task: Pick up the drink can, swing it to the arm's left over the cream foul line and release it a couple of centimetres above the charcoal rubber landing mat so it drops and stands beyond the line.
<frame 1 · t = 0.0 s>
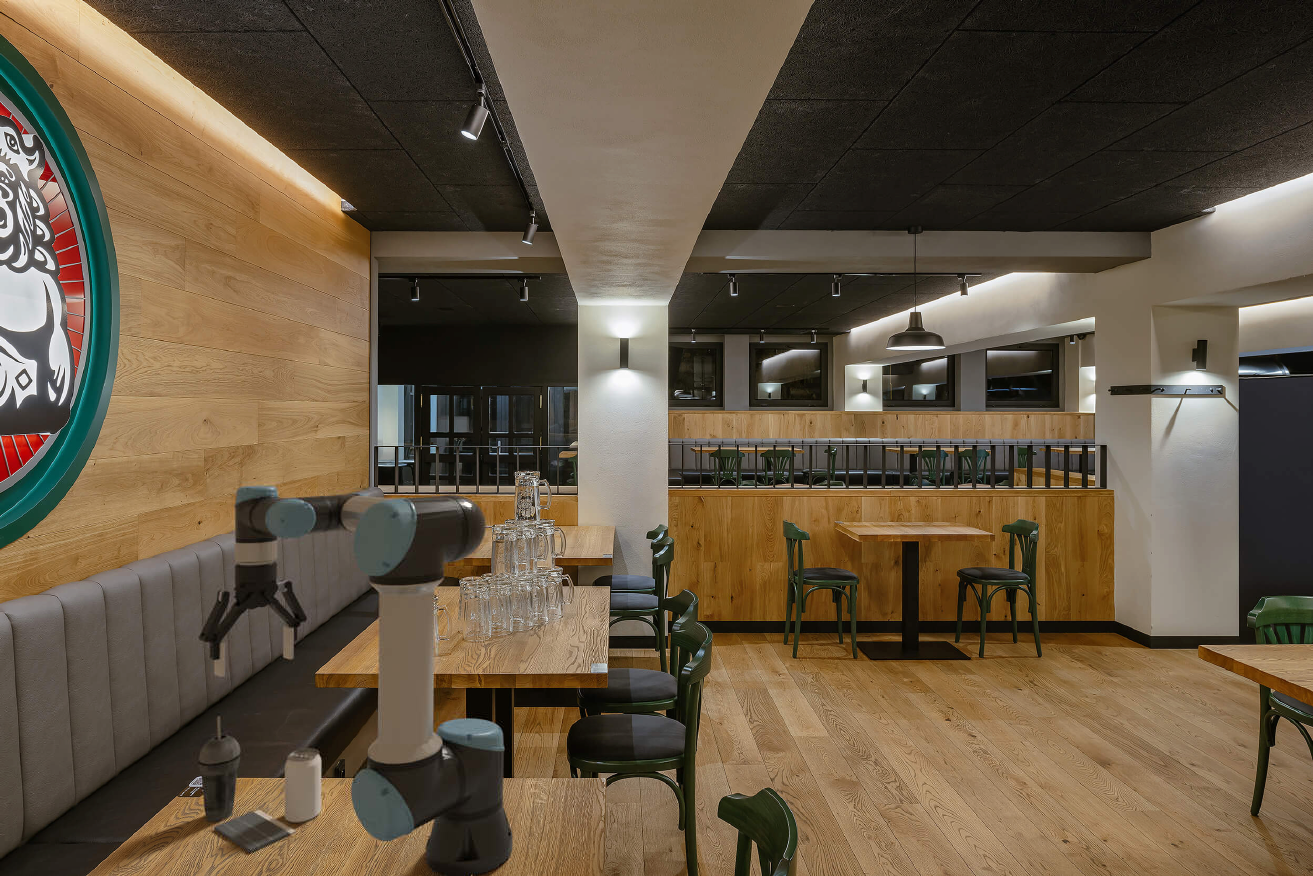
hand: (255, 666, 146), 28 cm above the table, fingers open, 13 cm apart
can: (302, 816, 142), on the table
dark grey flat slab: (256, 830, 136), on the table
beverage cup: (219, 817, 141), on the table
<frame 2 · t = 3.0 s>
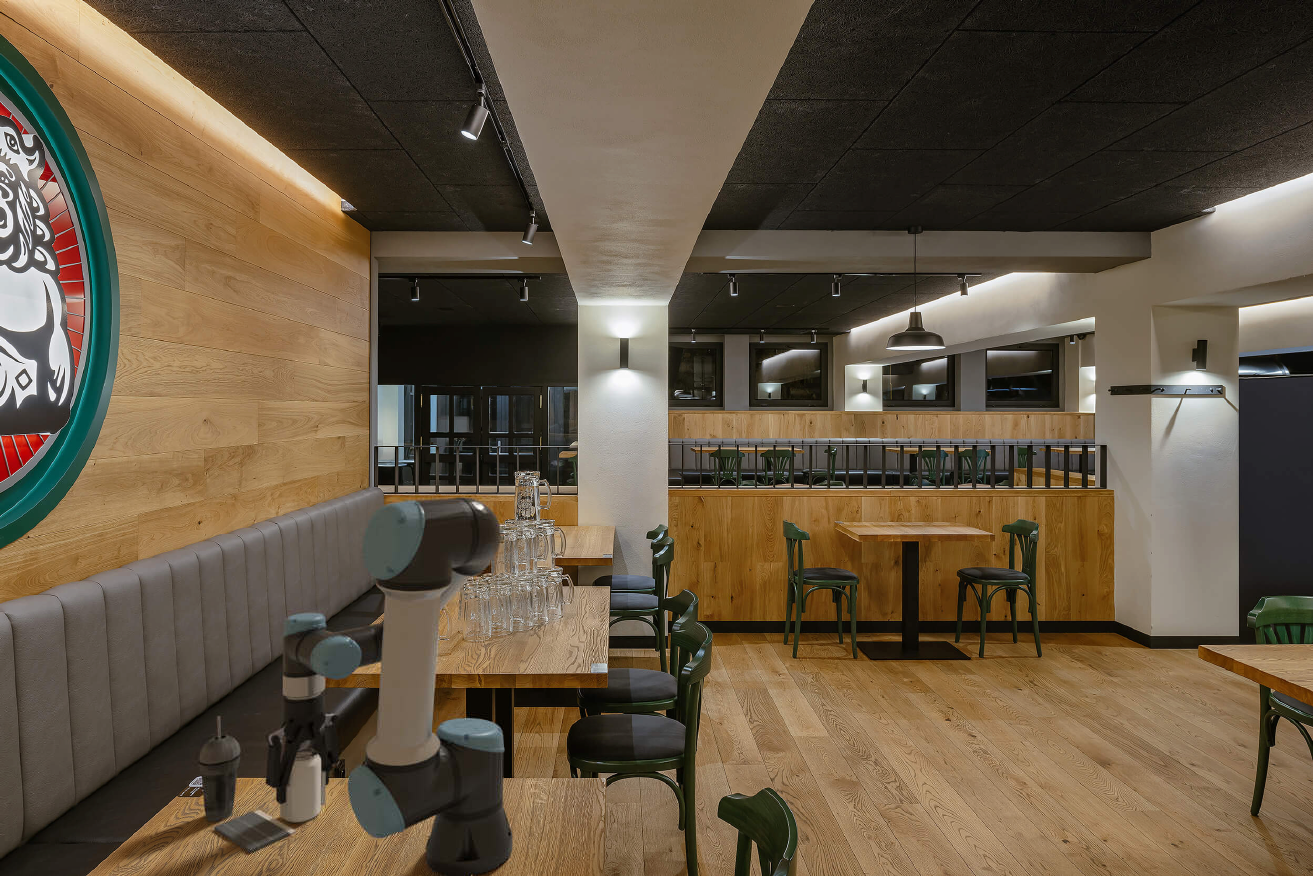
hand: (303, 810, 142), 1 cm above the table, fingers closed on can, 6 cm apart
can: (302, 816, 142), on the table, touching gripper
everything else where it was.
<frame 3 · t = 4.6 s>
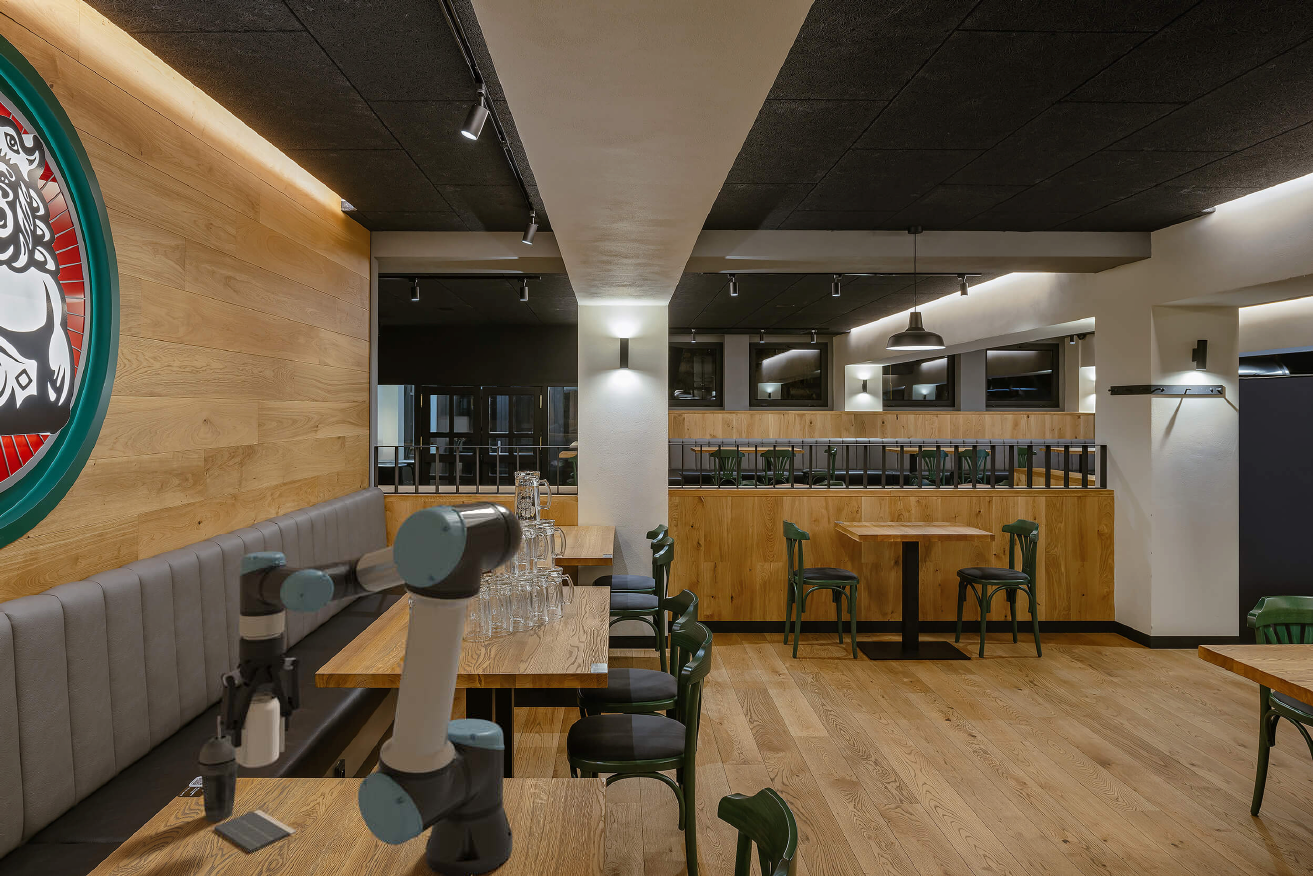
hand: (260, 756, 136), 14 cm above the table, fingers closed on can, 6 cm apart
can: (259, 762, 136), point 13 cm above the table, touching gripper
everything else where it was.
when the fingers open (4 cm above the table, at t = 6.1 s): can drops 2 cm, resting on dark grey flat slab.
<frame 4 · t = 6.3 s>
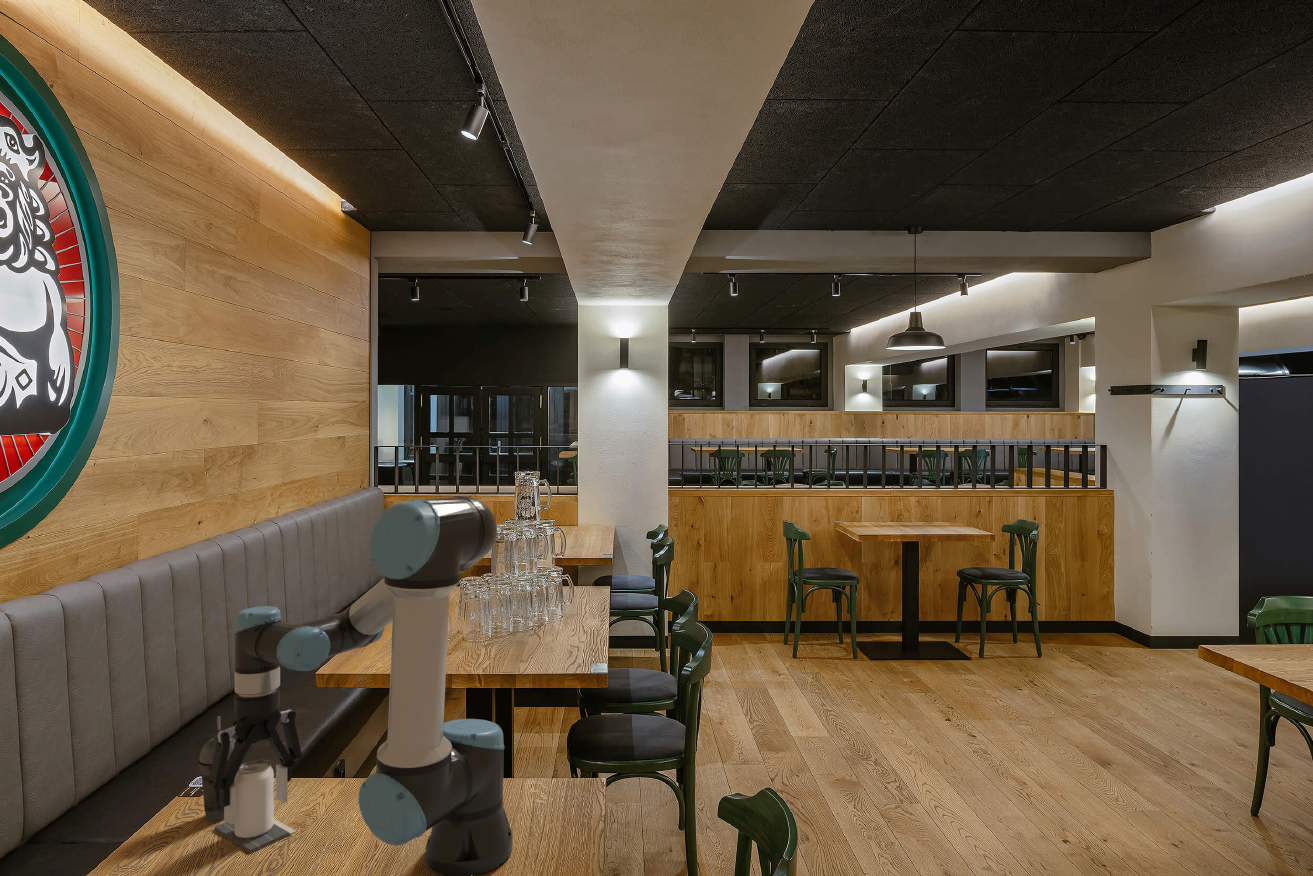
hand: (256, 810, 135), 4 cm above the table, fingers open, 9 cm apart
can: (254, 831, 135), resting on dark grey flat slab
everything else where it was.
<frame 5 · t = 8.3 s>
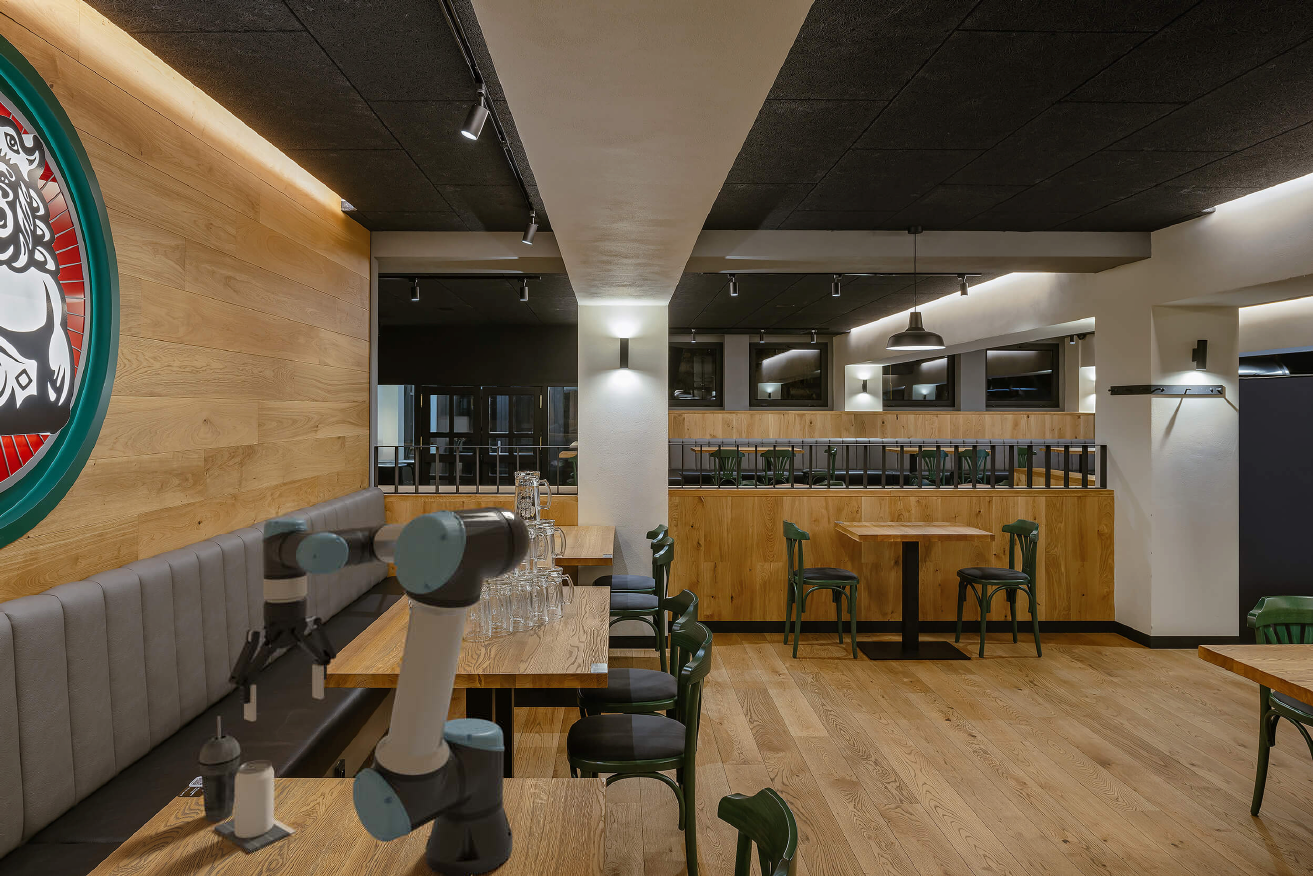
hand: (285, 708, 139), 22 cm above the table, fingers open, 13 cm apart
nothing on the table moved.
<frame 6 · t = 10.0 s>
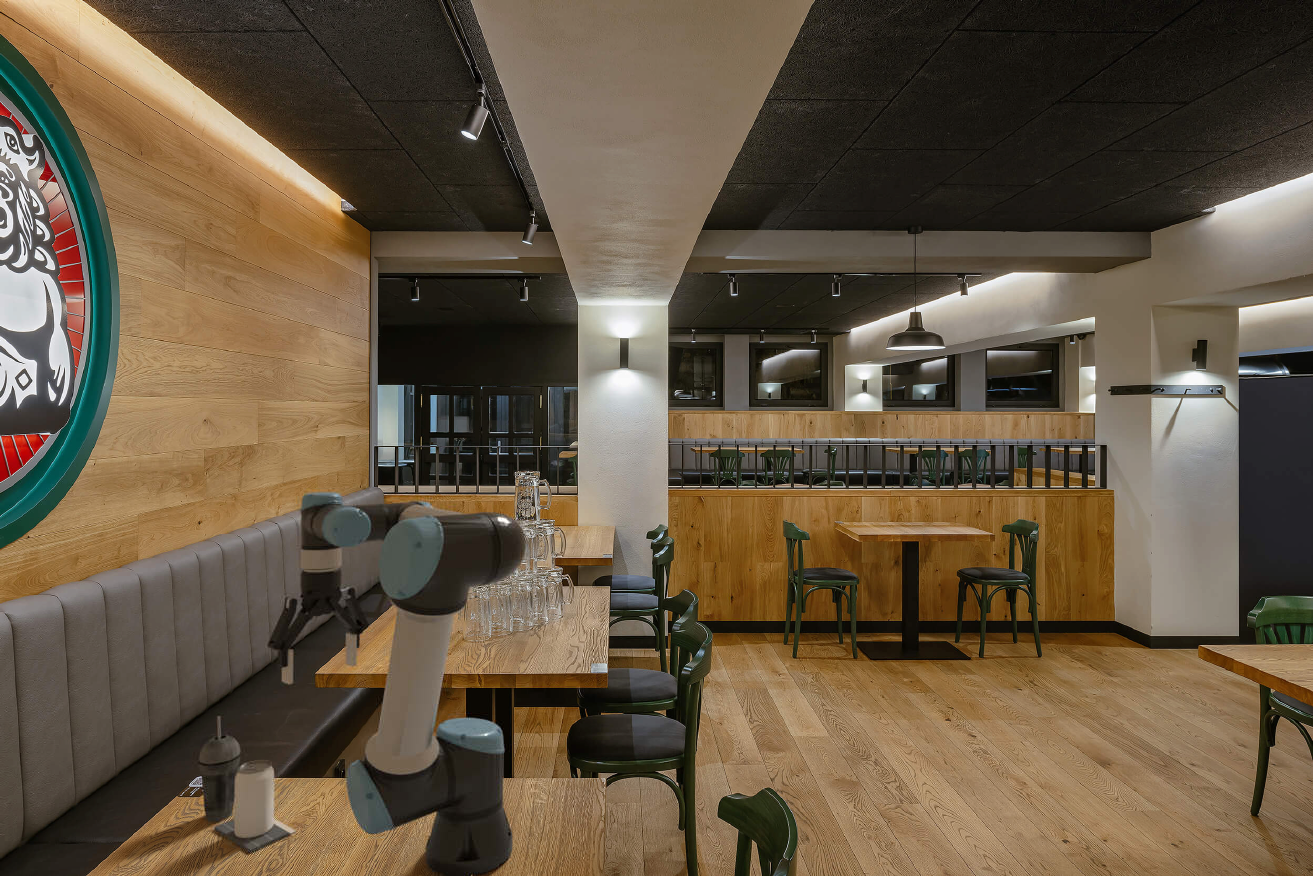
hand: (320, 673, 146), 27 cm above the table, fingers open, 13 cm apart
nothing on the table moved.
at the end: can inside the target area (1.7 cm from its centre), resting on dark grey flat slab; can tilted 0°; the gripper is holding nothing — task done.
